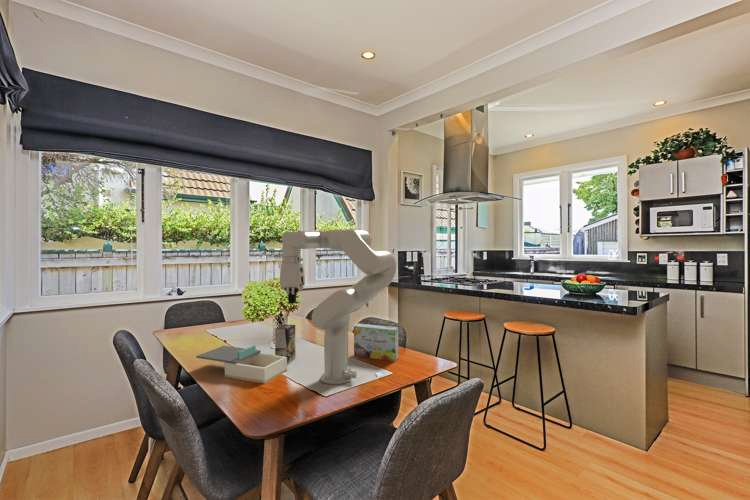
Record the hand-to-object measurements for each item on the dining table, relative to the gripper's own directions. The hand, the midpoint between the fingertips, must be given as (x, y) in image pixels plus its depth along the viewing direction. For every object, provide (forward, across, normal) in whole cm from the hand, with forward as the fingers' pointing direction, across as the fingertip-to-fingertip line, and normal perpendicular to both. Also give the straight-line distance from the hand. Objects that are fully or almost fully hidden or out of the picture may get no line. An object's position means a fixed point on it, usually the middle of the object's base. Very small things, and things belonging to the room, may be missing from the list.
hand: (292, 303), depth 162 cm
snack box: (+29, -27, -29) cm, 49 cm away
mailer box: (+29, +12, +9) cm, 33 cm away
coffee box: (+29, +10, -9) cm, 32 cm away
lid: (+23, +26, +9) cm, 36 cm away
